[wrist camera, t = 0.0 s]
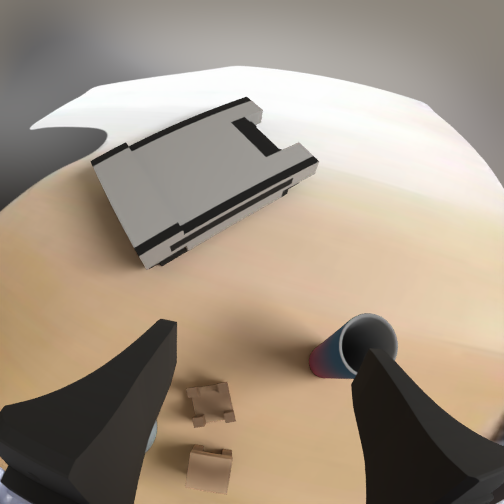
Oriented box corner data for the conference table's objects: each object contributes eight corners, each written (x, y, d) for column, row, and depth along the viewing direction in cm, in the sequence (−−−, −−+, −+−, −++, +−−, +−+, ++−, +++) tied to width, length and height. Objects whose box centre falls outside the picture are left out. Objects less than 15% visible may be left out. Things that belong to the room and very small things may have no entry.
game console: (309, 186, 55) (320, 156, 48) (152, 278, 46) (138, 256, 38) (244, 122, 62) (247, 91, 54) (104, 189, 52) (90, 161, 44)
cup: (334, 391, 40) (382, 389, 26) (294, 370, 41) (327, 360, 28) (354, 351, 43) (406, 331, 29) (316, 330, 44) (355, 301, 30)
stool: (226, 481, 33) (226, 494, 28) (190, 475, 33) (185, 487, 28) (231, 450, 35) (232, 459, 30) (195, 444, 35) (190, 452, 30)
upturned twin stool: (234, 416, 38) (235, 421, 32) (198, 422, 37) (194, 427, 32) (227, 382, 40) (227, 381, 34) (191, 388, 39) (186, 388, 34)
